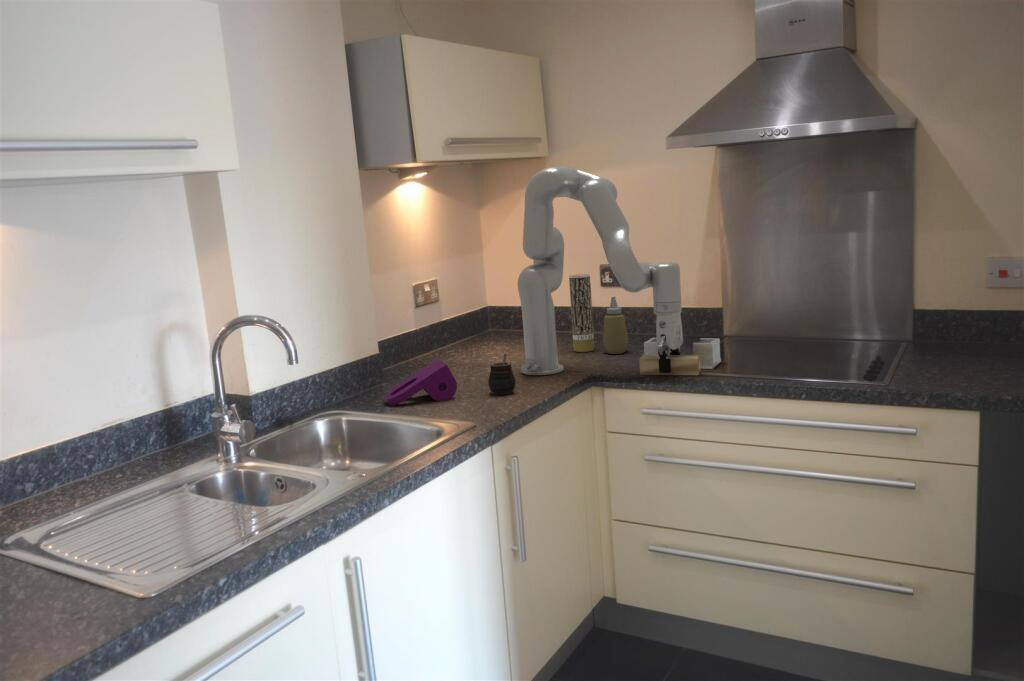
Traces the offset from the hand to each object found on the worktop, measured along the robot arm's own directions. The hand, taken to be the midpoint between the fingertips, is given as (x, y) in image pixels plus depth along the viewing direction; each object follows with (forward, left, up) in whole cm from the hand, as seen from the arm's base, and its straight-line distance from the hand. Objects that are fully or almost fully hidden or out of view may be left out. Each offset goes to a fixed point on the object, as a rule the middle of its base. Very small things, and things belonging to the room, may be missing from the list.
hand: (670, 369), depth 235 cm
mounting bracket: (-41, +56, -2) cm, 70 cm away
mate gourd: (-30, +37, -1) cm, 48 cm away
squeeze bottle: (+27, +26, -1) cm, 38 cm away
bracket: (+12, 0, -1) cm, 12 cm away
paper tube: (+29, +38, -1) cm, 48 cm away
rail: (0, 0, -1) cm, 1 cm away
